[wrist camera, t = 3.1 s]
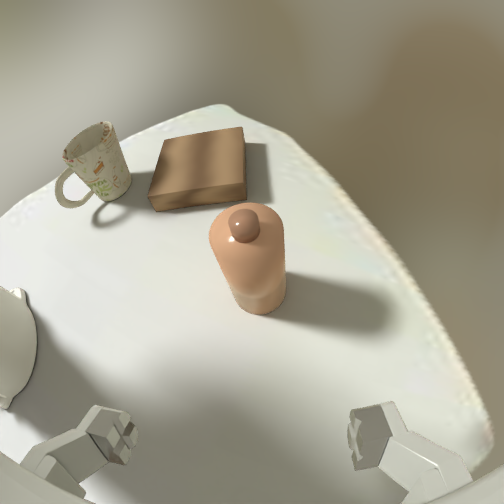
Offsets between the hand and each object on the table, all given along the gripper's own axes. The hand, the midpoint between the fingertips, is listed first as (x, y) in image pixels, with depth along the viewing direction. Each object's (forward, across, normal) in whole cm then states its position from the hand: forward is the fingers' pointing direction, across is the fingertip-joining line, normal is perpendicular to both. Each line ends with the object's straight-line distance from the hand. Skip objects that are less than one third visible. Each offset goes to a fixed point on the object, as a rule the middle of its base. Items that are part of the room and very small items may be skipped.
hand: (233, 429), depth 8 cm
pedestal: (+32, +7, -10) cm, 35 cm away
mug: (+32, +23, -10) cm, 40 cm away
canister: (+20, 0, +2) cm, 20 cm away
